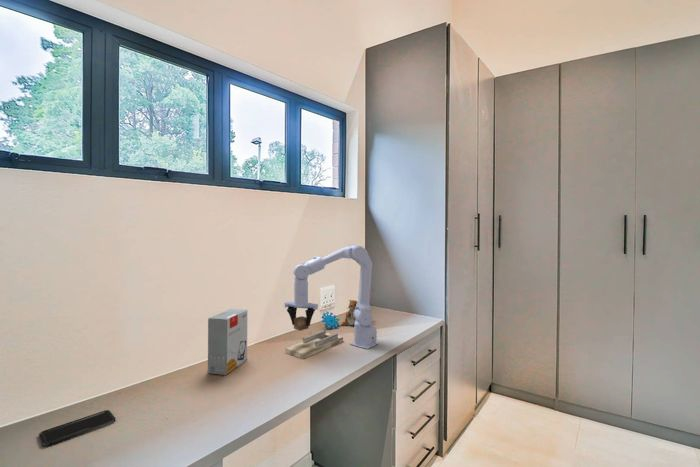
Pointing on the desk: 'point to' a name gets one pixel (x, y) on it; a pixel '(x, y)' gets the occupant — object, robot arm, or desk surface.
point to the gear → (330, 320)
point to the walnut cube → (300, 323)
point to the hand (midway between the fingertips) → (301, 325)
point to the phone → (76, 428)
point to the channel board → (314, 344)
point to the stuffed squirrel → (350, 314)
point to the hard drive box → (227, 341)
